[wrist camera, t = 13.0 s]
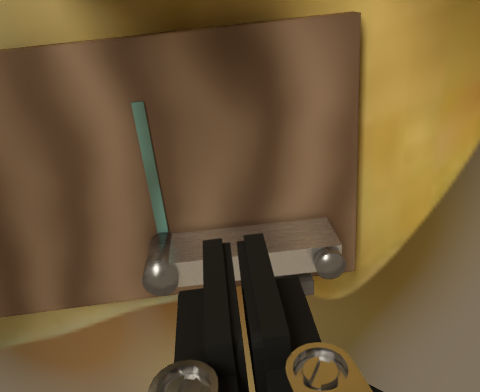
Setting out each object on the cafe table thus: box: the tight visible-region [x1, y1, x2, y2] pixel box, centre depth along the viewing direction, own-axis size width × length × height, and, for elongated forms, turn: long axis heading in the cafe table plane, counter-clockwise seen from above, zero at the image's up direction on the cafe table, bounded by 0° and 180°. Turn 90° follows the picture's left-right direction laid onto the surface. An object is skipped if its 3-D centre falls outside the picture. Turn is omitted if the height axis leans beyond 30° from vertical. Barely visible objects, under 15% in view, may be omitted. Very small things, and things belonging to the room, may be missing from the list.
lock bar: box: [142, 217, 346, 296], centre depth 32 cm, size 14×2×5 cm, turn 94°
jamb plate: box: [0, 12, 361, 317], centre depth 31 cm, size 30×20×6 cm, turn 95°
